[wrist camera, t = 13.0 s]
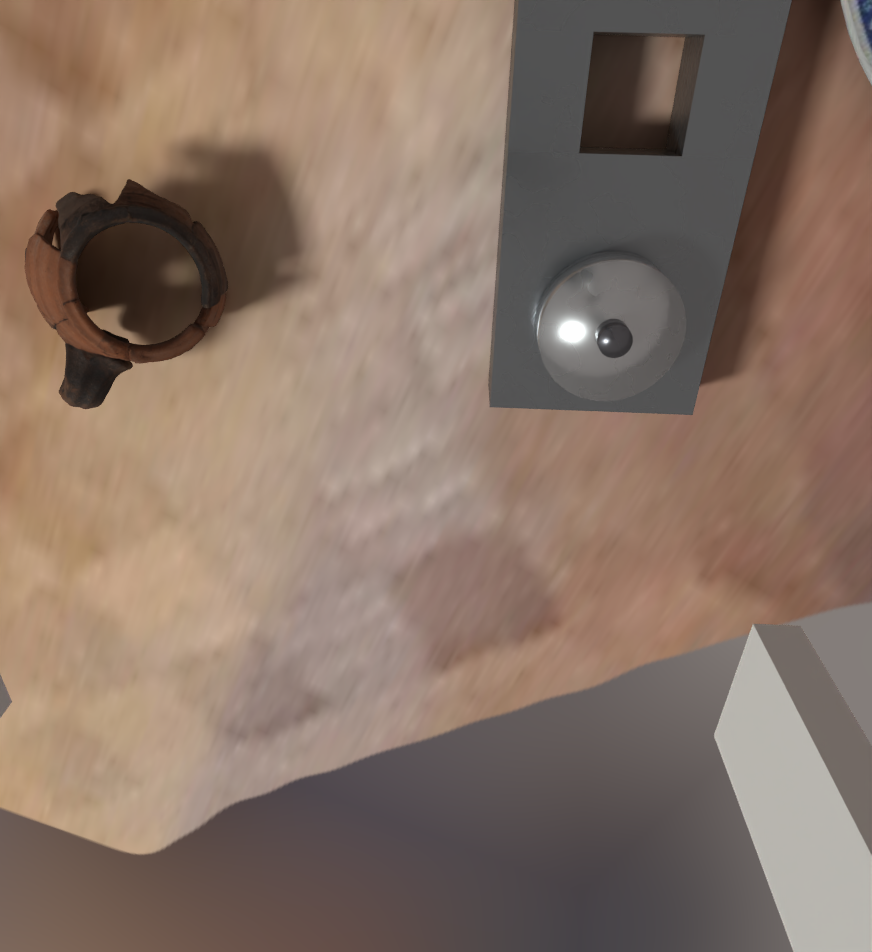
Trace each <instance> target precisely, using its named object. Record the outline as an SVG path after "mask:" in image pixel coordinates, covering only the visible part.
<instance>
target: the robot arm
mask: <svg viewBox="0 0 872 952" xmlns="http://www.w3.org/2000/svg"><path fill="white" fill-rule="evenodd" d="M11 702H12V701H11V698H10V696H9V694H8V691H7V689H6V687H5V684H4V682H3V680H2V677H1V675H0V718H1V716H2V715H3V713H4V712H5V711H6V709H7V708H8V707H9V705H10V704H11ZM714 737H715V740H716V742H717V745H718V748H719V751H720V753H721V756H722V759H723V761H724V764H725V767H726V770H727V772H728V775H729V778H730V780H731V783H732V786H733V789H734V791H735V794H736V797H737V799H738V802H739V805H740V808H741V810H742V813H743V816H744V819H745V821H746V824H747V827H748V829H749V832H750V835H751V837H752V840H753V843H754V846H755V848H756V851H757V854H758V856H759V859H760V862H761V865H762V867H763V870H764V873H765V876H766V878H767V880H768V884H769V886H770V889H771V892H772V895H773V897H774V900H775V903H776V905H777V908H778V911H779V914H780V916H781V919H782V922H783V924H784V927H785V930H786V933H787V935H788V938H789V941H790V943H791V946H792V949H793V952H872V745H871V744H870V742H869V740H868V739H867V737H866V735H865V734H864V732H863V730H862V729H861V727H860V725H859V724H858V722H857V720H856V719H855V717H854V715H853V713H852V712H851V710H850V708H849V707H848V705H847V703H846V702H845V700H844V698H843V697H842V695H841V693H840V692H839V690H838V688H837V687H836V685H835V683H834V682H833V680H832V678H831V677H830V675H829V673H828V671H827V670H826V668H825V667H824V665H823V663H822V661H821V660H820V658H819V656H818V655H817V653H816V651H815V650H814V648H813V646H812V645H811V643H810V641H809V639H808V638H807V636H806V635H805V633H804V631H803V629H802V628H801V626H792V625H769V624H753V625H752V628H751V631H750V634H749V637H748V640H747V642H746V646H745V648H744V651H743V654H742V657H741V660H740V663H739V665H738V668H737V671H736V674H735V677H734V680H733V683H732V686H731V689H730V691H729V694H728V697H727V700H726V703H725V705H724V708H723V711H722V714H721V717H720V720H719V723H718V726H717V728H716V731H715V734H714Z"/></svg>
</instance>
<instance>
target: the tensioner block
mask: <svg viewBox="0 0 872 952" xmlns="http://www.w3.org/2000/svg"><path fill="white" fill-rule="evenodd" d="M791 2H792V0H515V4H514V18H513V33H512V48H511V62H510V77H509V91H508V106H507V121H506V135H505V150H504V165H503V179H502V194H501V209H500V223H499V238H498V253H497V267H496V282H495V296H494V311H493V326H492V340H491V355H490V370H489V384H488V386H489V401H490V407H503V408H529V409H555V410H580V411H606V412H632V413H658V414H684V415H693V411H694V406H695V402H696V398H697V394H698V390H699V386H700V381H701V377H702V373H703V369H704V365H705V361H706V356H707V352H708V348H709V344H710V340H711V336H712V331H713V327H714V323H715V319H716V315H717V310H718V306H719V302H720V298H721V294H722V290H723V285H724V281H725V277H726V273H727V269H728V265H729V260H730V256H731V252H732V248H733V244H734V240H735V235H736V231H737V227H738V223H739V219H740V215H741V210H742V206H743V202H744V198H745V194H746V189H747V185H748V181H749V177H750V173H751V169H752V164H753V160H754V156H755V152H756V148H757V144H758V139H759V135H760V131H761V127H762V123H763V119H764V114H765V110H766V106H767V102H768V98H769V93H770V89H771V85H772V81H773V77H774V73H775V68H776V64H777V60H778V56H779V52H780V48H781V43H782V39H783V35H784V31H785V27H786V23H787V18H788V14H789V10H790V6H791ZM593 35H620V36H657V37H685V42H684V48H683V53H682V59H681V65H680V70H679V76H678V81H677V87H676V93H675V98H674V104H673V110H672V115H671V121H670V126H669V132H668V138H667V143H666V149H632V148H599V147H580V142H581V133H582V125H583V116H584V108H585V100H586V91H587V83H588V75H589V66H590V58H591V49H592V41H593Z"/></svg>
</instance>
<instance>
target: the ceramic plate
mask: <svg viewBox="0 0 872 952" xmlns="http://www.w3.org/2000/svg"><path fill="white" fill-rule="evenodd" d="M840 1H841V5H842V9H843V13H844V18H845V22H846V26H847V30H848V33H849V36H850V39H851V41H852V44H853V47H854V49H855V52H856V55H857V58H858V60H859V62H860V64H861V66H862V68H863V70H864V72H865V74H866V76H867V78H868V80H869V82H870V84H871V85H872V0H840Z"/></svg>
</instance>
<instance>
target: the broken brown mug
mask: <svg viewBox="0 0 872 952" xmlns="http://www.w3.org/2000/svg"><path fill="white" fill-rule="evenodd" d="M56 208H57V210H58V211H52V210H50V209H49V210H47V211H46V212H45V213H44V215H43V216H42V217H41V219H40V221H39V222H38V225H37V229H36V231H35V234H34V235H33V236H32V237H31V238H30V239H29V242H28V246H27V248H26V251H25V273H26V279H27V283H28V286H29V289H30V292H31V294H32V295H33V298H34V300H35V302H36V303H37V306H38V309H39V311H40V312H41V314H42V316H43V317H44V318H45V320H46V321H47V323H48V324H49V325H50V326H51V327H52V328H53V329H56V330H57V332H58V334H59V335H60V336H61V338H62V339H63V340H64V342H65V343H66V344H65V346H66V368H65V378H64V380H63V383H62V385H61V387H60V390H59V394H60V395H61V397H62V399H63V400H64V401H66V402H67V403H68V404H69V405H70V406H73V407H80V408H83V409H89V408H94V407H98V406H100V405H101V404H102V402H103V401H104V399H105V397H106V395H107V394H108V392H109V390H110V388H111V386H112V384H113V382H114V380H115V378H116V377H117V376H118V375H119V374H120V373H122V372H124V371H126V370H128V369H131V368H132V367H133V365H132V363H131V362H130V361H133V362H135V363H147V362H158V361H164V360H169V359H172V358H174V357H176V356H179V355H181V354H183V353H184V352H187V351H189V350H191V349H192V348H193V347H194V346H195V345H196V344H197V343H198V342H199V341H200V340H201V339H202V338H203V337H204V335H205V333H206V332H207V331H208V329H209V327H214V326H216V325H217V323H218V321H219V319H220V317H221V315H222V312H223V309H224V306H225V301H226V291H227V289H228V281H227V277H226V273H225V269H224V266H223V263H222V260H221V257H220V255H219V252H218V250H217V248H216V246H215V244H214V242H213V240H212V239H211V237H210V236H209V234H208V233H207V231H206V230H205V228H204V227H203V226H202V224H201V223H199V222H198V221H194V222H192V220H191V218H190V215H189V213H188V212H187V211H186V210H185V209H183V208H181V207H180V206H178V205H177V204H175V203H173V202H170V201H168V200H166V199H164V198H161V197H160V196H158V195H156V194H154V193H153V192H151V191H149V190H147V189H145V188H144V187H143V186H142V185H140V184H138V183H136V182H134V181H132V180H130V179H128V180H127V184H126V185H125V187H124V189H123V190H122V192H121V194H120V196H119V198H118V200H117V201H116V202H115V203H114V204H110V203H108V202H107V201H106V200H105V199H103V198H102V197H99V196H96V195H93V194H86V195H80V194H78V193H75V192H70V193H68V194H67V195H65V196H64V197H63V198H61V199H60V200H59V201H58V202H57V203H56ZM125 222H130V223H143V224H147V225H152V226H155V227H158V228H160V229H162V230H164V231H166V232H167V233H169V234H170V235H172V236H173V237H175V238H176V239H177V240H178V241H179V242H180V243H181V244H182V245H183V246H184V247H185V248H186V249H187V250H188V252H189V253H190V255H191V256H192V258H193V260H194V261H195V263H196V266H197V268H198V270H199V274H200V279H201V284H202V297H201V302H202V306H203V307H202V309H201V312H200V314H199V316H198V318H197V319H196V320H195V322H194V323H193V324H190V325H189V326H188V327H187V328H186V329H185V330H184V331H182V332H181V333H180V334H179V335H177V336H175V337H174V338H172V339H170V340H167V341H165V342H161V343H157V344H151V345H138V344H132V343H129V341H128V339H126V338H123V337H120V336H116V335H114V334H112V333H110V332H108V331H106V330H102V329H100V328H99V327H98V326H96V325H95V324H94V322H93V321H92V320H91V319H90V318H89V316H88V315H87V312H88V308H87V307H86V306H84V305H83V304H82V303H80V300H79V297H78V292H77V288H76V271H77V265H78V259H79V256H80V254H81V252H82V251H83V249H84V247H85V246H86V245H87V243H88V242H89V241H90V240H91V239H92V238H93V237H94V236H95V235H97V234H98V233H100V232H101V231H103V230H105V229H107V228H109V227H112V226H115V225H118V224H123V223H125ZM57 225H59V229H60V240H61V250H60V249H58V248H56V247H54V246H53V245H52V241H53V236H54V232H55V229H56V227H57Z"/></svg>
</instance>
